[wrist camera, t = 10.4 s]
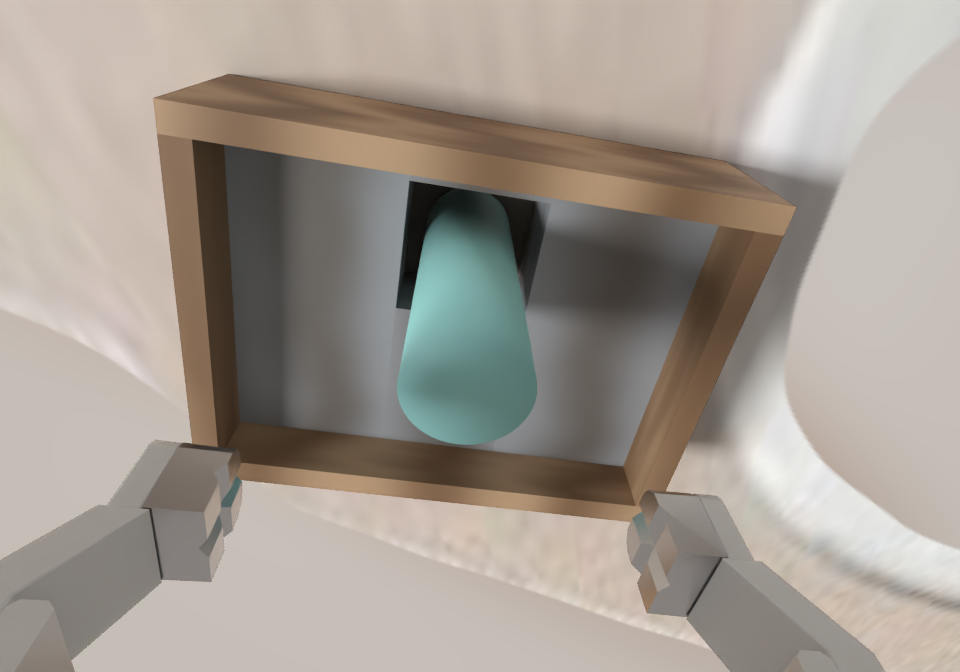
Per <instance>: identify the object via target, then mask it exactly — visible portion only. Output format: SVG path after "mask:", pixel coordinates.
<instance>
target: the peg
mask: <svg viewBox="0 0 960 672" xmlns="http://www.w3.org/2000/svg"><path fill="white" fill-rule="evenodd" d="M397 394H398V399H399V403H400V405H401V408H402V410H403V412H404V413H405V415H406V416H407V418H408V419H409V420H410V421H411V422H412V424H414V425H415V426H416V427H417V428H418V429H419V430H421V431H422V432H424V433H425V434H427V435H429V436H431V437H433V438H435V439H438V440H440V441H444V442H448V443H453V444H461V445H474V444H482V443H487V442H491V441H494V440H497V439H499V438H501V437H503V436H506V435H507V434H509V433H511V432H512V431H514V430H515V429H516V428H517V427H519V426H520V425H521V424H522V423H523V422H524V421H525V420H526V418H527V417H528V416H529V414H530V412H531V411H532V409H533V407H534V404H535V401H536V397H537V378H536V372H535V367H534V361H533V355H532V350H531V344H530V338H529V333H528V327H527V321H526V316H525V310H524V304H523V299H522V293H521V288H520V282H519V276H518V271H517V265H516V259H515V254H514V248H513V242H512V237H511V231H510V225H509V220H508V216H507V213H506V211H505V209H504V207H503V206H502V204H501V203H500V202H499V201H498V200H497V199H496V198H495V197H494V196H493V195H491V194H489V193H483V192H477V191H471V190H465V189H455V190H452V191H450V192H448V193H446V194H445V195H443V196H442V197H441V198H439V199H438V200H437V202H436V203H435V204H434V205H433V207H432V209H431V211H430V213H429V216H428V220H427V225H426V231H425V236H424V242H423V247H422V252H421V258H420V263H419V268H418V274H417V279H416V285H415V290H414V295H413V301H412V306H411V311H410V317H409V322H408V328H407V333H406V338H405V344H404V349H403V354H402V360H401V365H400V371H399V376H398V381H397Z"/></svg>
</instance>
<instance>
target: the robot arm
mask: <svg viewBox="0 0 960 672" xmlns="http://www.w3.org/2000/svg"><path fill="white" fill-rule="evenodd" d="M240 466H241V458H240V451H238V450H237V449H231V448H223V447H214V446H206V445H198V444H190V443H176V442H169V441H161V440H155V441H153V442H152V443H150V444H149V445H148V446H147V447H146V449H145V450H144V452H143V453H142V455H141V456H140V457H139V459H138V460H137V462H136V463H135V465H134V466H133V468H132V469H131V471H130V472H129V474H128V475H127V477H126V478H125V480H124V481H123V482H122V484H121V485H120V487H119V488H118V490H117V491H116V493H115V494H114V496H113V497H112V499H111V500H110V502H109V503H108V505H97V506H95V507H93V508H92V509H90V510H88V511H86V512H85V513H83V514H81V515H79V516H77V517H76V518H74V519H72V520H70V521H69V522H67V523H65V524H63V525H62V526H60V527H58V528H56V529H54V530H53V531H51V532H49V533H47V534H46V535H44V536H42V537H40V538H38V539H37V540H35V541H33V542H32V543H30V544H28V545H26V546H24V547H23V548H21V549H19V550H17V551H15V552H14V553H12V554H10V555H8V556H7V557H5V558H3V559H1V560H0V672H75V671H74V668H73V665H72V662H71V660H72V659H73V658H74V657H76V656H77V655H78V654H79V653H80V652H81V651H83V650H84V649H85V648H86V647H87V646H88V645H90V644H91V643H92V642H93V641H94V640H95V639H96V638H98V637H99V636H100V635H101V634H102V633H104V632H105V631H106V630H107V629H108V628H109V627H110V626H112V625H113V624H114V623H115V622H116V621H117V620H119V619H120V618H121V617H122V616H123V615H124V614H126V613H127V612H128V611H129V610H130V609H131V608H133V607H134V606H135V605H136V604H137V603H138V602H139V601H141V600H142V599H143V598H144V597H145V596H146V595H148V594H149V593H150V592H151V591H152V590H153V589H154V588H156V587H157V586H158V585H159V584H160V583H161V580H180V581H204V582H211V581H212V579H213V577H214V574H215V572H216V569H217V567H218V564H219V562H220V560H221V557H222V555H223V553H224V539H223V537H225V536H226V535H227V534H229V533H230V532H231V531H233V528H234V526H235V523H236V520H237V518H238V514H239V510H240V506H241V500H242V481H241V480H240V479H239V478H238V477H237V476H236V475H237V473H238V470H239V468H240ZM639 504H640V507H641V510H642V512H640V513H639V514H637V515H636V516H634V517H633V518H632V520H631V522H630V525H629V528H628V533H627V549H628V555H629V558H630V561H631V564H632V565H633V566H634V567H635V568H636V569H637V570H638V571H639V572H640V573H641V576H640V578H639V580H638V582H637V584H638V587H639V590H640V594H641V597H642V600H643V603H644V606H645V609H646V612H647V613H651V614H661V615H671V616H681V617H688V618H687V620H688V622H689V623H690V624H691V625H692V626H693V627H694V629H695V630H696V631H697V632H698V633H699V635H700V636H701V637H702V638H703V639H704V641H705V642H706V643H707V644H708V645H709V647H710V648H711V649H712V650H713V651H714V653H715V654H716V655H717V656H718V657H719V658H720V660H721V661H722V662H723V663H724V664H725V666H726V667H727V668H728V669H729V670H730V671H731V672H885V670H884V669H883V667H882V665H881V664H880V662H879V661H878V659H877V658H876V656H875V654H874V653H873V652H871V651H870V650H869V649H868V648H867V647H865V646H864V645H863V644H862V643H860V642H859V641H858V640H857V639H856V638H854V637H853V636H852V635H851V634H849V633H848V632H847V631H846V630H845V629H843V628H842V627H841V626H840V625H838V624H837V623H836V622H835V621H834V620H832V619H831V618H830V617H829V616H827V615H826V614H825V613H824V612H823V611H821V610H820V609H819V608H818V607H816V606H815V605H814V604H813V603H812V602H810V601H809V600H808V599H807V598H805V597H804V596H803V595H802V594H801V593H799V592H798V591H797V590H796V589H794V588H793V587H792V586H791V585H790V584H788V583H787V582H786V581H785V580H783V579H782V578H781V577H780V576H779V575H777V574H776V573H775V572H774V571H772V570H771V569H770V568H769V567H768V566H766V565H765V564H764V563H763V562H760V561H755V560H754V559H753V557H752V555H751V553H750V551H749V549H748V547H747V546H746V544H745V542H744V540H743V538H742V536H741V534H740V532H739V531H738V529H737V527H736V525H735V523H734V521H733V519H732V518H731V516H730V514H729V512H728V510H727V508H726V506H725V505H724V503H723V501H722V500H721V499H720V498H719V497H718V496H713V495H701V494H689V493H677V492H666V491H655V490H647V491H646V492H645V493H644V494H643V495H642V498H641V500H640V502H639Z"/></svg>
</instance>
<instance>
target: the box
mask: <svg viewBox="0 0 960 672" xmlns="http://www.w3.org/2000/svg"><path fill="white" fill-rule="evenodd" d="M153 102H154V110H155V119H156V128H157V137H158V146H159V154H160V163H161V172H162V181H163V190H164V198H165V207H166V216H167V225H168V234H169V242H170V251H171V260H172V269H173V278H174V286H175V295H176V304H177V313H178V322H179V330H180V339H181V348H182V357H183V366H184V374H185V383H186V392H187V401H188V410H189V418H190V427H191V436H192V444H198V445H206V446H214V447H223V448H231V449H237V450H238V451H240V458H241V466H240V468H239V470H238V473H237V475H236V476H237V477H238V478H239V479H240V480H246V481H255V482H265V483H274V484H283V485H292V486H302V487H311V488H320V489H330V490H339V491H348V492H357V493H367V494H376V495H385V496H395V497H404V498H413V499H422V500H432V501H441V502H450V503H460V504H469V505H478V506H487V507H497V508H506V509H515V510H525V511H534V512H543V513H552V514H562V515H571V516H580V517H590V518H599V519H608V520H617V521H627V522H631V520H632V518H633V517H634V516H636V515H637V514H639V513H640V512H642V510H641V507H640V504H639V502H640V500H641V498H642V495H643V494H644V493H645V492H646V491H647V490H655V491H666V489H667V487H668V485H669V483H670V480H671V478H672V476H673V474H674V472H675V470H676V467H677V465H678V463H679V461H680V459H681V457H682V454H683V452H684V450H685V448H686V446H687V444H688V441H689V439H690V437H691V435H692V433H693V431H694V428H695V426H696V424H697V422H698V420H699V418H700V416H701V413H702V411H703V409H704V407H705V405H706V403H707V400H708V398H709V396H710V394H711V392H712V390H713V387H714V385H715V383H716V381H717V379H718V377H719V374H720V372H721V370H722V368H723V366H724V364H725V361H726V359H727V357H728V355H729V353H730V351H731V348H732V346H733V344H734V342H735V340H736V338H737V336H738V333H739V331H740V329H741V327H742V325H743V323H744V320H745V318H746V316H747V314H748V312H749V310H750V307H751V305H752V303H753V301H754V299H755V297H756V294H757V292H758V290H759V288H760V286H761V284H762V281H763V279H764V277H765V275H766V273H767V271H768V268H769V266H770V264H771V262H772V260H773V258H774V256H775V253H776V251H777V249H778V247H779V245H780V243H781V240H782V238H783V236H784V234H785V232H786V230H787V227H788V225H789V223H790V221H791V219H792V217H793V214H794V212H795V210H796V208H797V207H796V206H794V205H793V204H791V203H790V202H788V201H786V200H785V199H783V198H782V197H780V196H779V195H777V194H776V193H774V192H772V191H771V190H769V189H768V188H766V187H765V186H763V185H761V184H760V183H758V182H757V181H755V180H754V179H752V178H751V177H749V176H747V175H746V174H744V173H743V172H741V171H740V170H738V169H737V168H735V167H733V166H732V165H730V164H729V163H727V162H726V161H721V160H715V159H709V158H703V157H698V156H692V155H686V154H681V153H675V152H669V151H664V150H658V149H652V148H646V147H641V146H635V145H629V144H624V143H618V142H612V141H607V140H601V139H595V138H590V137H584V136H578V135H572V134H567V133H561V132H555V131H550V130H544V129H538V128H533V127H527V126H521V125H516V124H510V123H504V122H498V121H493V120H487V119H481V118H476V117H470V116H464V115H459V114H453V113H447V112H441V111H436V110H430V109H424V108H419V107H413V106H407V105H402V104H396V103H390V102H385V101H379V100H373V99H367V98H362V97H356V96H350V95H345V94H339V93H333V92H328V91H322V90H316V89H311V88H305V87H299V86H293V85H288V84H282V83H276V82H271V81H265V80H259V79H254V78H248V77H242V76H236V75H231V74H227V75H224V76H221V77H218V78H215V79H211V80H208V81H205V82H202V83H199V84H196V85H193V86H189V87H186V88H183V89H180V90H177V91H174V92H171V93H168V94H164V95H161V96H158V97H155V98H153ZM414 181H415V182H422V183H428V184H434V185H440V186H446V187H452V188H458V189H465V190H471V191H477V192H483V193H489V194H495V195H501V196H508V197H514V198H520V199H526V200H532V201H536V203H535V207H534V212H533V216H532V220H531V225H530V229H529V234H528V238H527V243H526V247H525V252H524V256H523V261H522V265H521V270H520V274H519V282H520V288H521V293H522V299H523V304H524V310H525V316H526V321H527V327H528V333H529V338H530V344H531V350H532V355H533V361H534V367H535V372H536V378H537V397H536V401H535V404H534V407H533V409H532V411H531V412H530V414H529V416H528V417H527V418H526V420H525V421H524V422H523V423H522V424H521V425H520V426H519V427H517V428H516V429H515V430H514V431H512V432H511V433H509V434H507V435H506V436H503V437H501V438H499V439H497V440H494V441H491V442H487V443H482V444H474V445H461V444H453V443H448V442H444V441H440V440H438V439H435V438H433V437H431V436H429V435H427V434H425V433H424V432H422V431H421V430H419V429H418V428H417V427H416V426H415V425H414V424H412V422H411V421H410V420H409V419H408V418H407V416H406V415H405V413H404V412H403V410H402V408H401V405H400V403H399V399H398V394H397V381H398V376H399V371H400V365H401V360H402V354H403V349H404V344H405V338H406V333H407V328H408V322H409V317H410V311H411V306H412V301H413V295H414V290H415V285H416V279H417V274H415V273H408V272H404V271H405V262H406V253H407V244H408V235H409V226H410V217H411V208H412V199H413V189H414Z"/></svg>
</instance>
